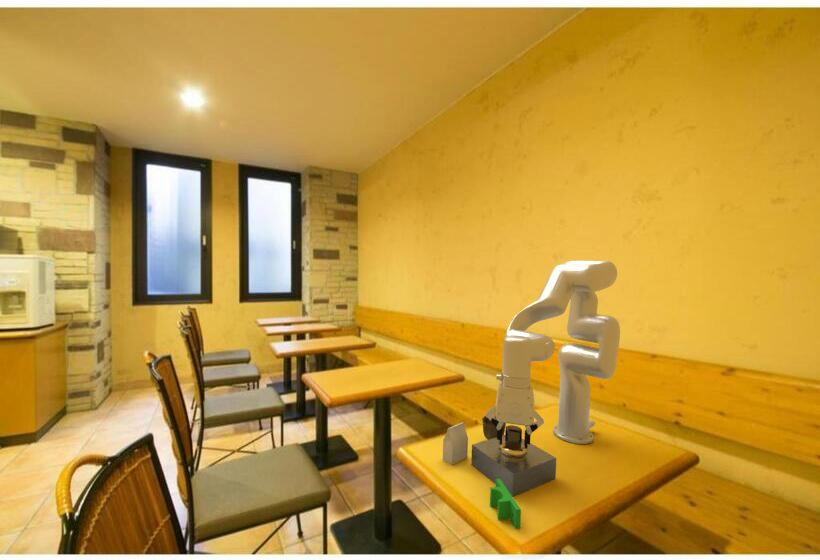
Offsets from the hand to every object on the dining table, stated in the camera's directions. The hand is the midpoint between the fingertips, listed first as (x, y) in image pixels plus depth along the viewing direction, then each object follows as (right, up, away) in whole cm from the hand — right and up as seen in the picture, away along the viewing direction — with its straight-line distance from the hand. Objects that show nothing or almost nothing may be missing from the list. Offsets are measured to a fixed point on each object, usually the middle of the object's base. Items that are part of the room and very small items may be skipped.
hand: (513, 443), depth 99 cm
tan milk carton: (-15, -8, +7) cm, 18 cm away
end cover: (0, -7, 0) cm, 7 cm away
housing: (0, -8, 0) cm, 8 cm away
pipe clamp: (-7, -9, -16) cm, 19 cm away
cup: (-2, -8, +15) cm, 17 cm away
